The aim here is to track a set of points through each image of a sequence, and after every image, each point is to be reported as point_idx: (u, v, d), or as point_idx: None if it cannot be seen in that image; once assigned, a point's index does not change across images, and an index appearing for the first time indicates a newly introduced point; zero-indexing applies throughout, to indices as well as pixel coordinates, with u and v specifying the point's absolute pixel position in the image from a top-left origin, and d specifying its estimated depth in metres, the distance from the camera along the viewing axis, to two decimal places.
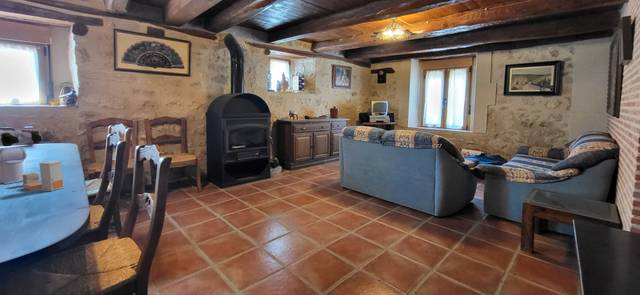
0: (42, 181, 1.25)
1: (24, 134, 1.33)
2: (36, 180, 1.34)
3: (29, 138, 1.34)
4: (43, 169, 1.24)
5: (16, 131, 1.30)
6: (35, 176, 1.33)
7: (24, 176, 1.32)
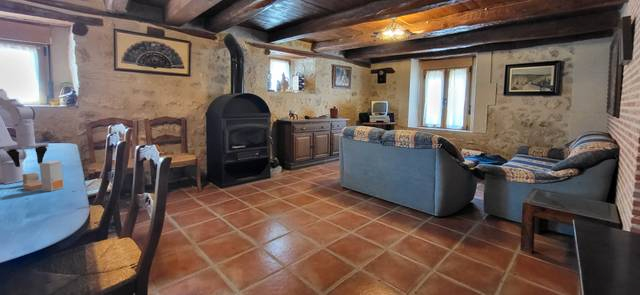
0: (42, 181, 1.25)
1: (33, 146, 1.32)
2: (36, 180, 1.34)
3: (35, 147, 1.34)
4: (43, 169, 1.24)
5: (28, 146, 1.30)
6: (35, 176, 1.33)
7: (24, 176, 1.32)
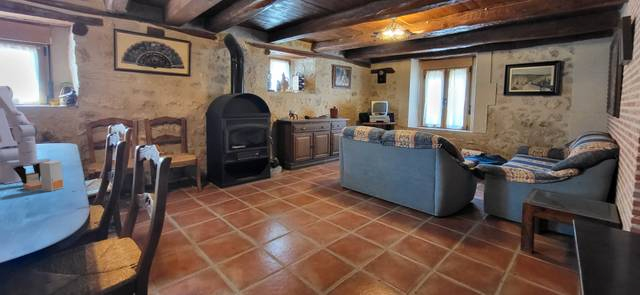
0: (42, 181, 1.25)
1: (35, 163, 1.33)
2: (36, 180, 1.34)
3: None
4: (43, 169, 1.24)
5: (30, 164, 1.31)
6: (35, 176, 1.33)
7: None
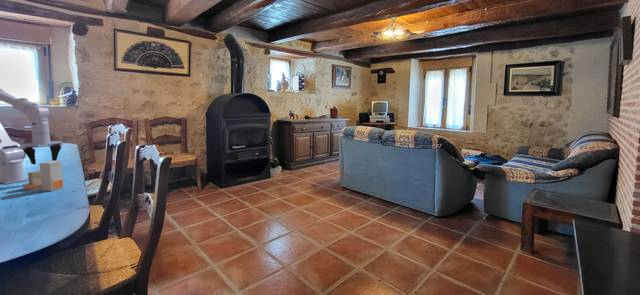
0: (42, 181, 1.25)
1: (48, 144, 1.36)
2: None
3: (50, 145, 1.38)
4: (43, 169, 1.24)
5: (43, 144, 1.34)
6: None
7: (30, 174, 1.27)
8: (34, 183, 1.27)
